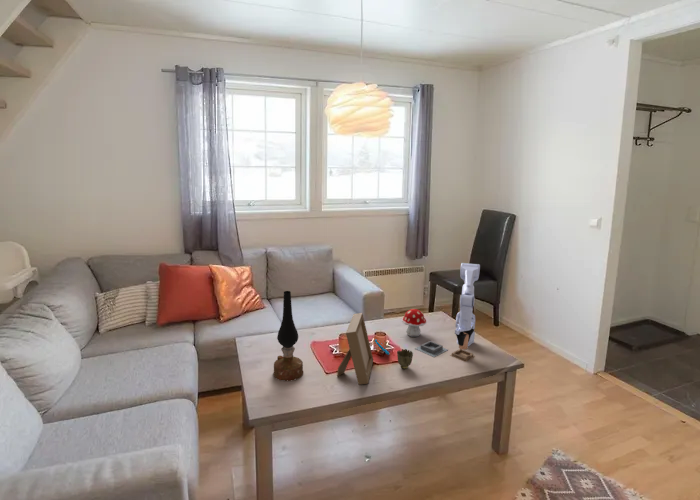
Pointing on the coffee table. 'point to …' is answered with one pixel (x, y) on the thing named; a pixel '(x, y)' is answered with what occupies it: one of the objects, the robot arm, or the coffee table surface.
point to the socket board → (431, 348)
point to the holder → (462, 355)
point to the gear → (382, 348)
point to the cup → (404, 358)
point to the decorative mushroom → (414, 321)
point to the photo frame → (358, 350)
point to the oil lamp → (287, 345)
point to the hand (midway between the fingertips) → (463, 343)
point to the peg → (465, 343)
